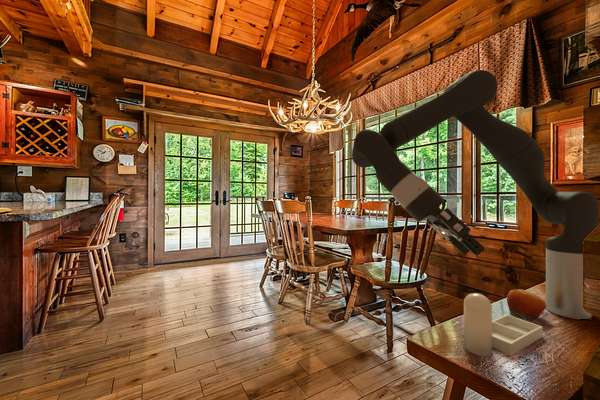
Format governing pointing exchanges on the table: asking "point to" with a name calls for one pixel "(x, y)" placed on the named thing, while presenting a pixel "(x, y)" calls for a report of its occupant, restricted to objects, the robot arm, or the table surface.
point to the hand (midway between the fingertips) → (473, 252)
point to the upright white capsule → (478, 324)
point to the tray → (514, 334)
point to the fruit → (525, 303)
